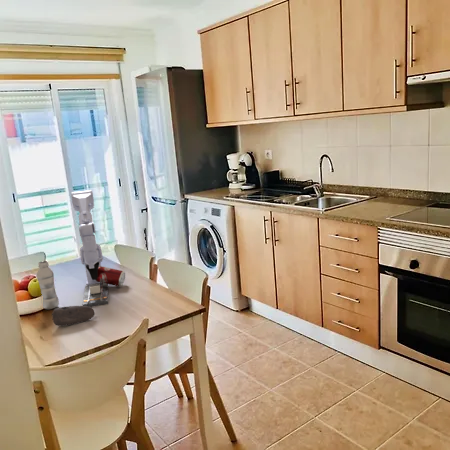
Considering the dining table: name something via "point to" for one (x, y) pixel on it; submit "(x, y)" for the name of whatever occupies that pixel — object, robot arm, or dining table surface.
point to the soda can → (110, 276)
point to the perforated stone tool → (72, 315)
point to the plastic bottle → (47, 285)
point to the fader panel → (96, 296)
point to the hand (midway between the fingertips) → (94, 279)
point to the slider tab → (95, 288)
